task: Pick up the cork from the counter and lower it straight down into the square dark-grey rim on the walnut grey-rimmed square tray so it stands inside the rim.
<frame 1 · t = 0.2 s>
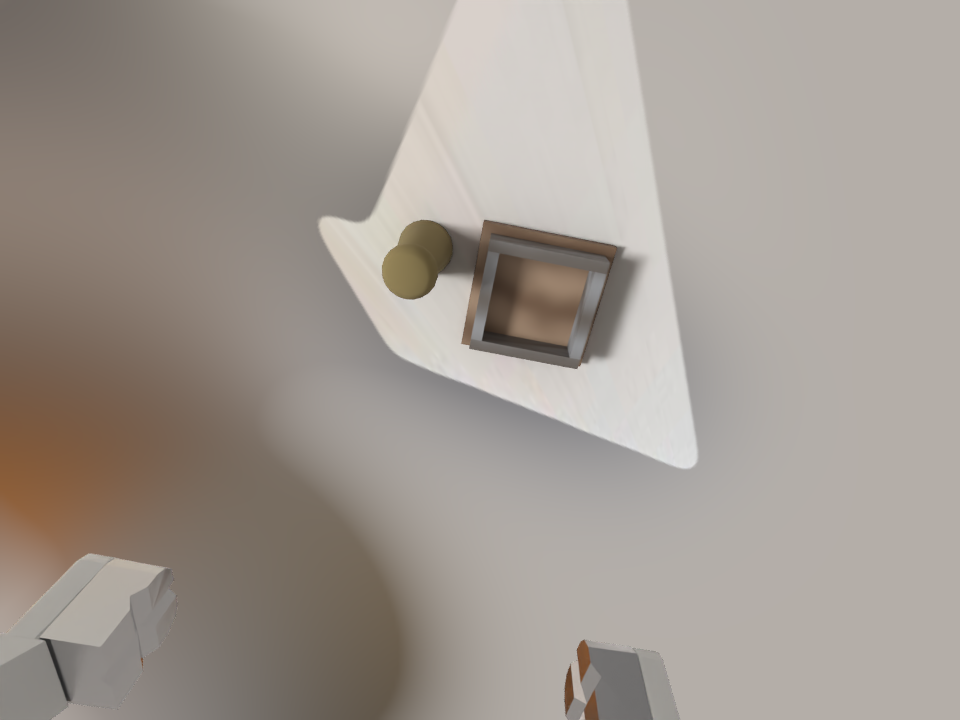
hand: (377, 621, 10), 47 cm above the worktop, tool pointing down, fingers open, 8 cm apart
cork: (425, 247, 54), on the worktop
grey-rimmed square tray: (534, 295, 56), on the worktop
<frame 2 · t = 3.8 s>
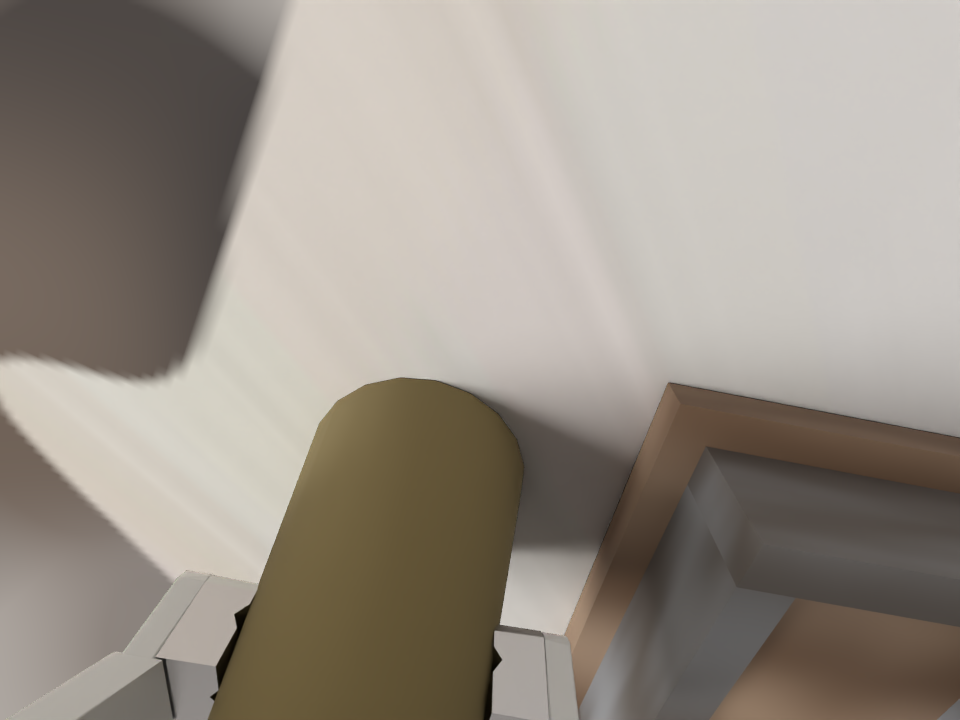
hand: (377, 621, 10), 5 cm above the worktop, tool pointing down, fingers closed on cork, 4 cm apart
cork: (418, 466, 14), on the worktop, touching gripper
grey-rimmed square tray: (807, 617, 16), on the worktop
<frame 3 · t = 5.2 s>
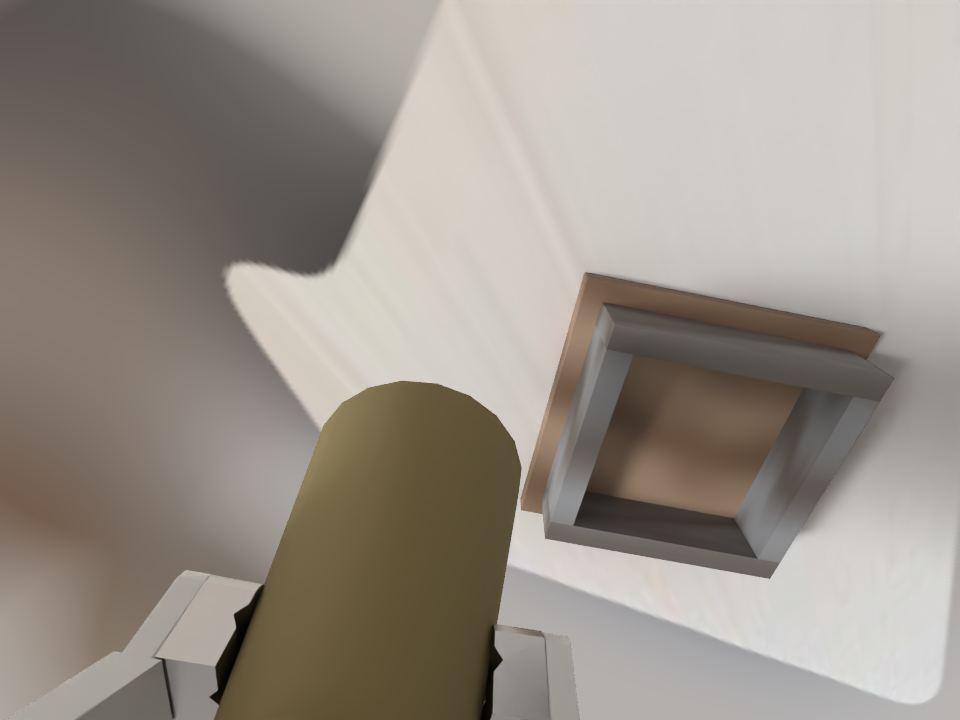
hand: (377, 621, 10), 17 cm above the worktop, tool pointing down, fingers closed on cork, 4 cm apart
cork: (419, 468, 14), point 12 cm above the worktop, touching gripper
grey-rimmed square tray: (675, 422, 27), on the worktop
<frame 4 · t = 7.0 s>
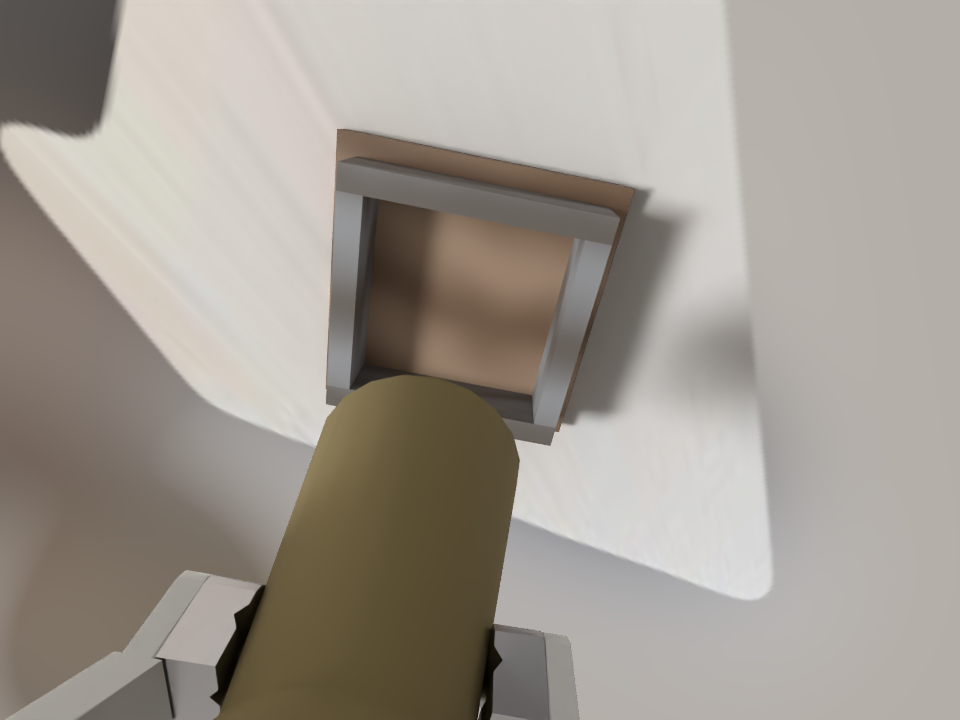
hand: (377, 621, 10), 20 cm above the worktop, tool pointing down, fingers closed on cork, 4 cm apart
cork: (419, 460, 15), point 14 cm above the worktop, touching gripper
grey-rimmed square tray: (464, 294, 27), on the worktop
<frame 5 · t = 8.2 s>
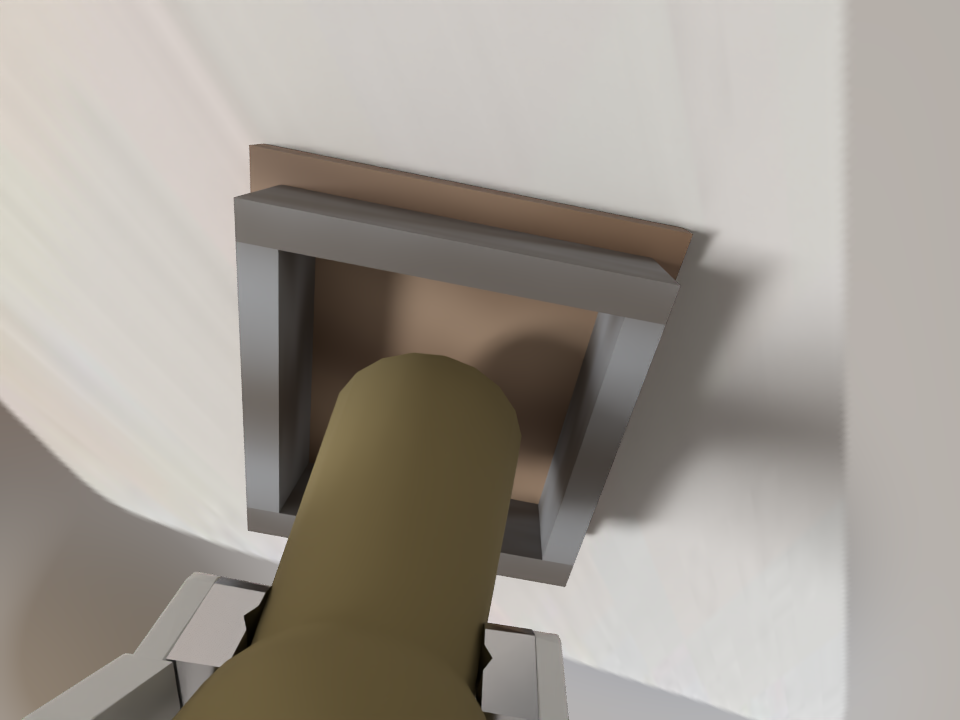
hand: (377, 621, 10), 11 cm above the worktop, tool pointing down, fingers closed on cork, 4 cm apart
cork: (426, 434, 16), point 4 cm above the worktop, touching gripper
grey-rimmed square tray: (444, 371, 20), on the worktop
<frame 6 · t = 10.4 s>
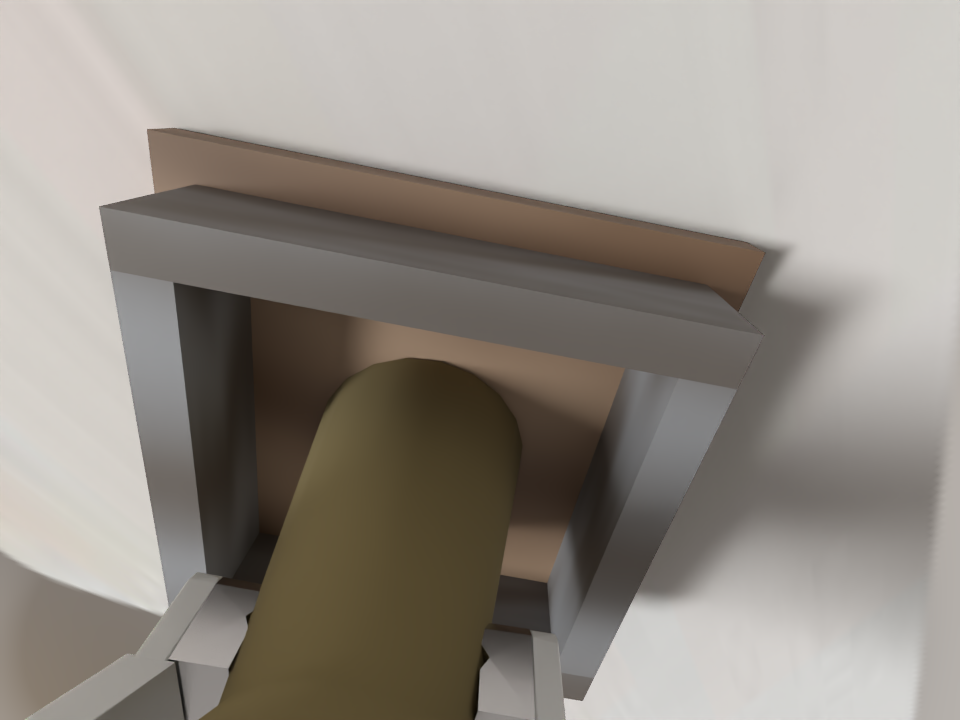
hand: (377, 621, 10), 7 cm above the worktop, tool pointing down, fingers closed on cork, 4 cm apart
cork: (421, 443, 15), point 1 cm above the worktop, touching gripper, grey-rimmed square tray
grey-rimmed square tray: (428, 422, 15), on the worktop
when the fingers open (7 cm above the worktop, at t = 12.0 s): cork stays where it is, resting on grey-rimmed square tray.
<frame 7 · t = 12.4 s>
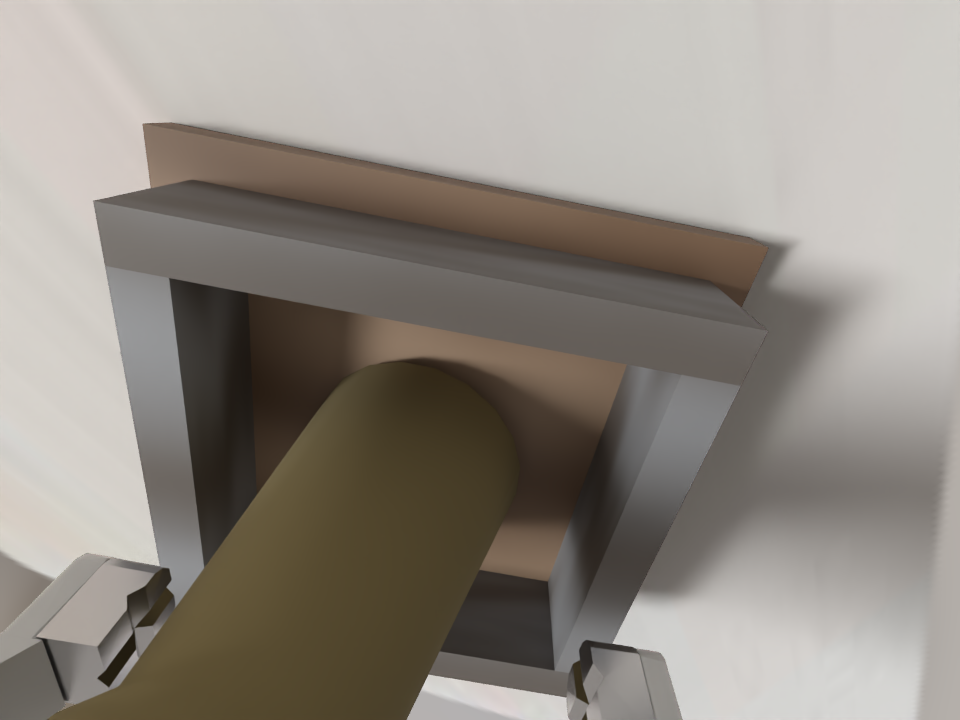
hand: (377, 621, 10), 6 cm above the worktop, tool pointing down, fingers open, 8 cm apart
cork: (418, 452, 14), point 1 cm above the worktop, touching gripper, grey-rimmed square tray
grey-rimmed square tray: (427, 420, 15), on the worktop
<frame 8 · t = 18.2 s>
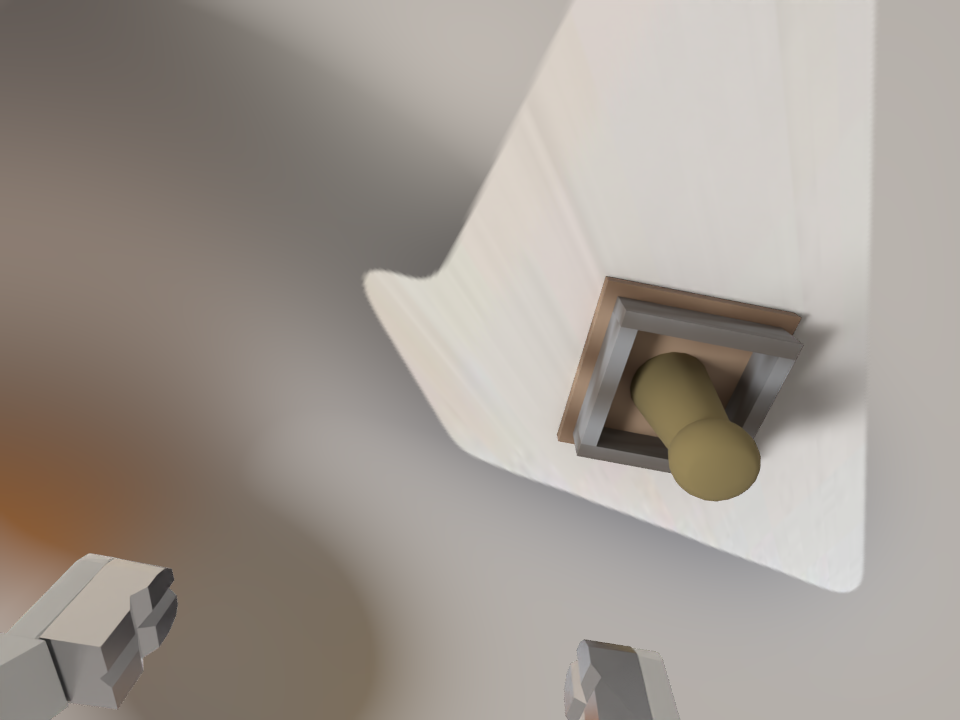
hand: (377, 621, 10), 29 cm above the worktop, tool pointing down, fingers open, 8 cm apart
cork: (668, 385, 39), point 1 cm above the worktop, touching grey-rimmed square tray
grey-rimmed square tray: (666, 378, 39), on the worktop
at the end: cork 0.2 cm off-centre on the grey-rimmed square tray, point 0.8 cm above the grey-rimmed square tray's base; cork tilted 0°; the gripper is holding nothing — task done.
